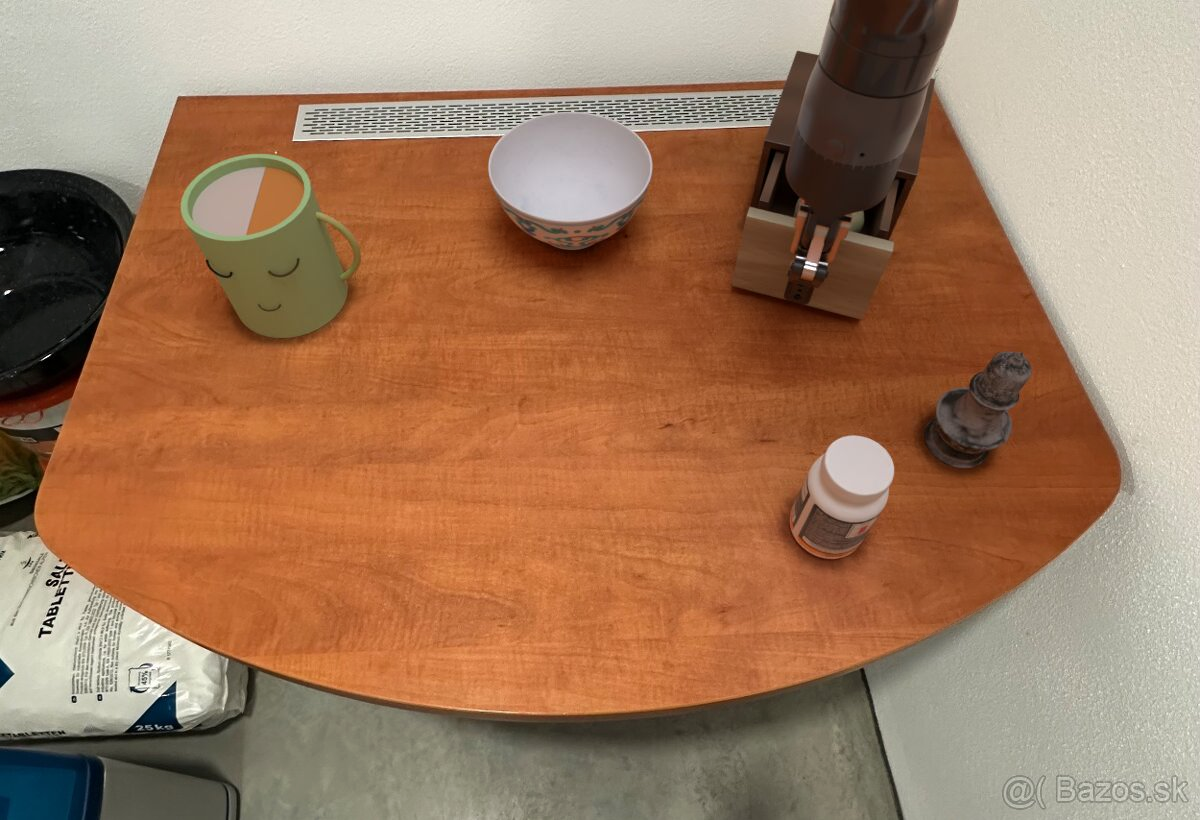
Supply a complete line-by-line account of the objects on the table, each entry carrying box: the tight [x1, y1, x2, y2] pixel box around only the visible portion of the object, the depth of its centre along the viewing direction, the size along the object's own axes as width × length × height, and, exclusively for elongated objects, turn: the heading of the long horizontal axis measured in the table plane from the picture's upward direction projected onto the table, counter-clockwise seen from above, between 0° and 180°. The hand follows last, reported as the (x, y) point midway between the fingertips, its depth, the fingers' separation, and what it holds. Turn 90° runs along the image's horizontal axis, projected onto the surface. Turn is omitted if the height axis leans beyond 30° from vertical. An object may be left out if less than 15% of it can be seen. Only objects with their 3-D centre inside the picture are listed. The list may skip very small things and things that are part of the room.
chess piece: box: [923, 350, 1033, 469], centre depth 61 cm, size 6×6×12 cm
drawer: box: [730, 150, 900, 320], centre depth 73 cm, size 15×12×9 cm
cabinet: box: [749, 50, 936, 241], centre depth 78 cm, size 14×13×10 cm
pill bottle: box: [789, 435, 895, 560], centre depth 58 cm, size 6×6×10 cm
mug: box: [180, 153, 362, 339], centre depth 69 cm, size 13×10×12 cm
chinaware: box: [487, 111, 653, 251], centre depth 76 cm, size 15×15×8 cm
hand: (797, 295), depth 68 cm, fingers closed
